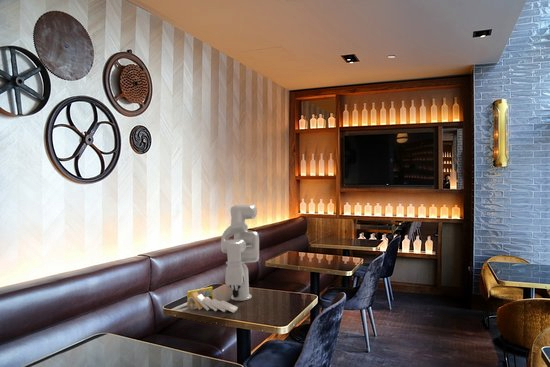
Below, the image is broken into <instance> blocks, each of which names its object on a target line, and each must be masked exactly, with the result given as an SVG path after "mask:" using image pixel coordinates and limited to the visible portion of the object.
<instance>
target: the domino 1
mask: <svg viewBox="0 0 550 367" xmlns="http://www.w3.org/2000/svg"><path fill="white" fill-rule="evenodd" d="M198 295H199V294H198V293H197V291H196V292H194V293H192V294H191V295H190V296H191V297H192V299H193V300H194V302H195V304H196V305H197V307H196V308H198V310H199V311H200V310H202V309H203V308H204V307H203V306H202V305H201V304H200V303H199V302H198V301H197V300H196V299H195V298H196V297H197V296H198Z"/></svg>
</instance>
